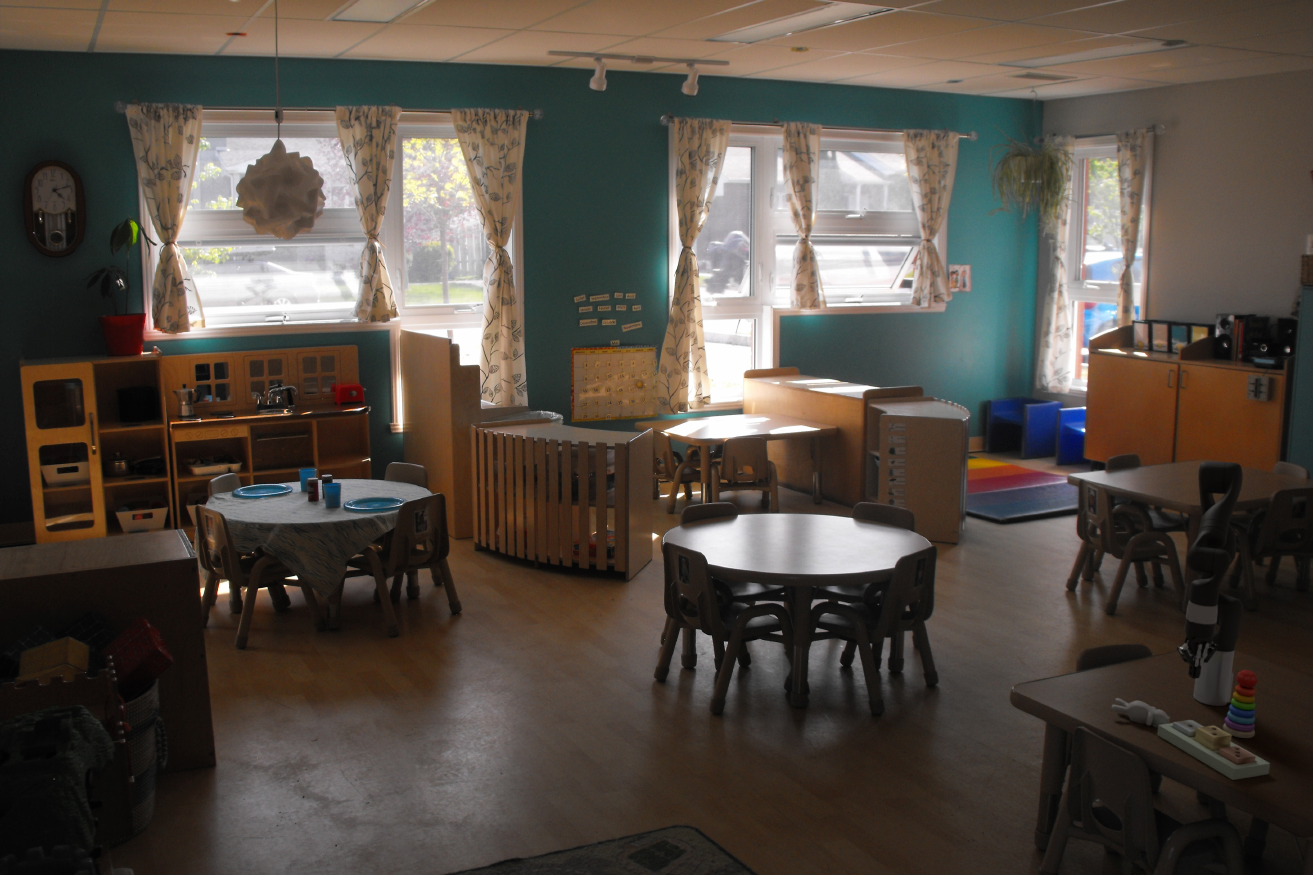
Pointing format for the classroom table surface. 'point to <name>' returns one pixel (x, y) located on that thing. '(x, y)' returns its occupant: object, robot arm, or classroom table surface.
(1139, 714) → the bunny figurine
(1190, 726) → the grey block
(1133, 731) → the classroom table surface
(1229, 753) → the tile
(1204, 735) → the tile
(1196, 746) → the number board
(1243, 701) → the stacking toy
